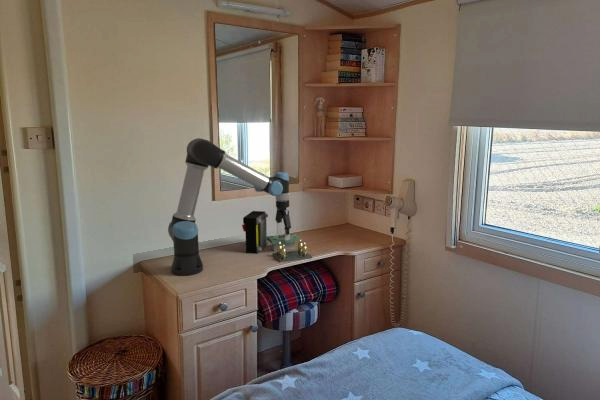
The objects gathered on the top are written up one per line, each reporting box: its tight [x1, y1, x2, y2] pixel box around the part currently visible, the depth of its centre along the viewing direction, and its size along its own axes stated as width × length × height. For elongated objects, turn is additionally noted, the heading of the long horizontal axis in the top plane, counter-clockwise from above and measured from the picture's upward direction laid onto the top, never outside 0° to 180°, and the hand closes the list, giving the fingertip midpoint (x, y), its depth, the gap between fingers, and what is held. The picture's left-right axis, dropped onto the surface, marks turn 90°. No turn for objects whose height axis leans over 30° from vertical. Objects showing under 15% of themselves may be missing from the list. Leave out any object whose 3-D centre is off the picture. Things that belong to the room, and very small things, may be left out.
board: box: [267, 233, 300, 245], centre depth 246 cm, size 16×10×3 cm, turn 111°
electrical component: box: [241, 210, 269, 255], centre depth 246 cm, size 18×10×20 cm, turn 168°
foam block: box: [271, 242, 295, 252], centre depth 247 cm, size 12×5×5 cm, turn 111°
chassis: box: [272, 238, 313, 263], centre depth 233 cm, size 18×13×8 cm
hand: (283, 236), depth 246 cm, fingers open, 13 cm apart
